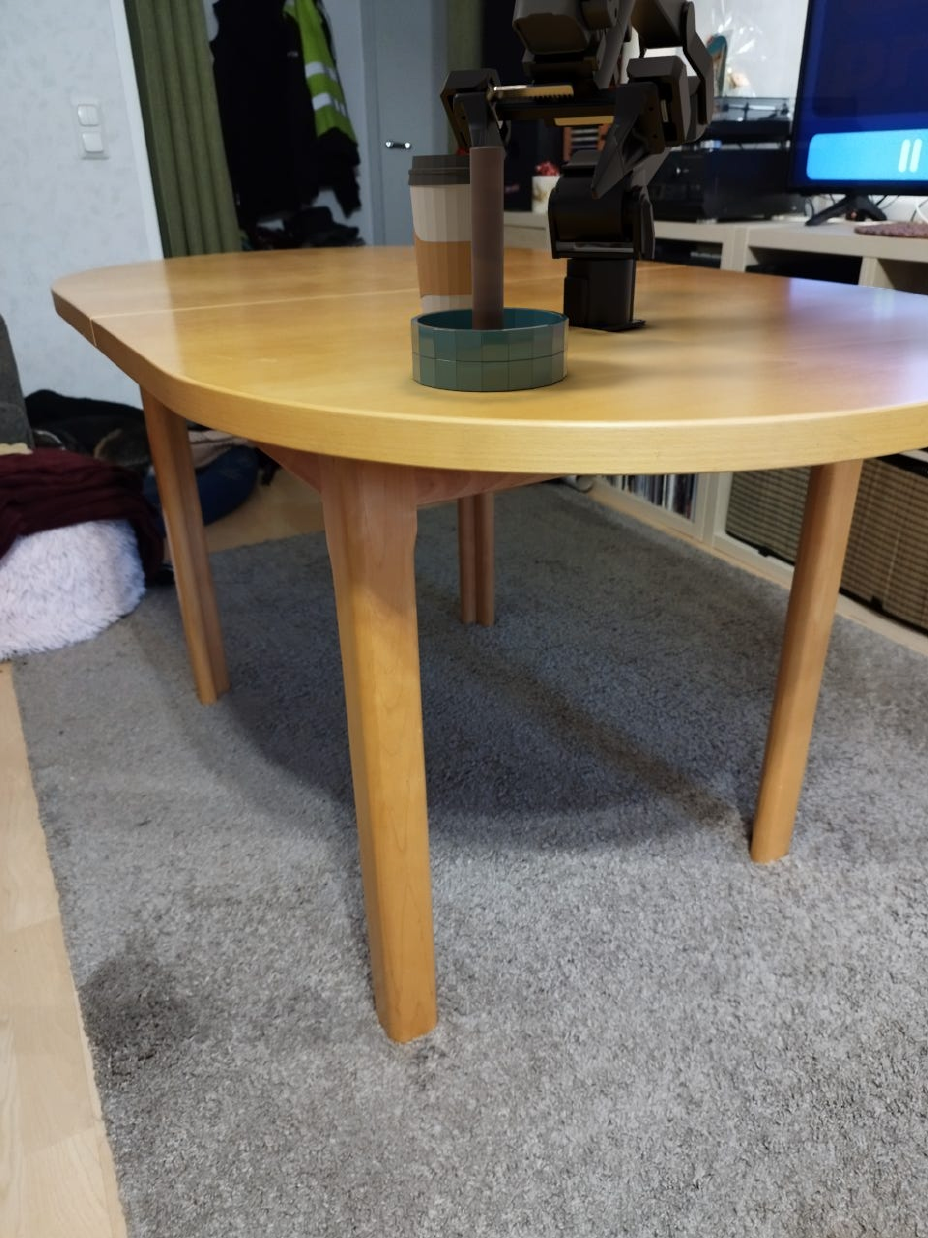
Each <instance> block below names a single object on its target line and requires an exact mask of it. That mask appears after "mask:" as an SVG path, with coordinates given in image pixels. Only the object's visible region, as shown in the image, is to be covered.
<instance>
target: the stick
mask: <svg viewBox="0 0 928 1238" xmlns="http://www.w3.org/2000/svg"><path fill="white" fill-rule="evenodd" d="M504 149H505V147H504V148H503V147H472V148H470V153H469V154H470V203H471V269H472V330H494V329H504V307H505V304H504V303H505V302H504V300H505V299H504V297H505V295H504V292H505V291H504V289H505V286H504V285H505V280H504V279H505V277H504V276H505V272H504V271H505V270H504V268H505V267H504V266H505V264H504V263H505V262H504V259H505V258H504V255H505V254H504V253H505V250H504V248H505V246H504V244H505V242H504V238H505V235H504V234H505V232H504V230H505V229H504V227H505V225H504V215H505V214H504V211H505V210H504V208H505V207H504V206H505V203H504V200H505V199H504V198H505V197H504V196H505V194H504V193H505V191H504V190H505V187H504V186H505V185H504V184H505V183H504V181H505V180H504V179H505V178H504V176H505V175H504V174H505V173H504V167H505V166H504V165H505V163H504V161H505V159H504Z"/></svg>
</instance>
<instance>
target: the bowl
mask: <svg viewBox="0 0 928 1238" xmlns="http://www.w3.org/2000/svg"><path fill="white" fill-rule="evenodd" d="M568 325H569V318H568V317H567V316H566V315H565V314H563V312H562V313H561V312H559V311H554V310H548V309H542V308H529V307H511V306H510V307H506V306H504V329H494V330H472V308H464V309H452V310H443V311H435V312H430V313H425V314H423V313H420V314H418V315H416V316H414V317H411V318H410V340H411V344H410V345H411V362H412V364H411V365H412V379H413V380H414V381H416V382H417V383H419V384H420V385H424V386H428V387H432V388H436V389H441V390H451V391H459V392H460V391H461V392H508V391H509V392H510V391H517V390H519V391H520V390H529V389H535V388H539V387H545V386H549V385H553V384H555V383H557V382H559V381H562V380H564V378H565V377H566V376H567V375H568V352H569V326H568Z"/></svg>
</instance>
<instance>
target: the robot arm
mask: <svg viewBox="0 0 928 1238" xmlns="http://www.w3.org/2000/svg"><path fill="white" fill-rule="evenodd" d="M513 11H514V12H513V17H512V23H511V24H512V28H513V30H514V31H515V32H517V34H518V36H519V37H520V39H521V42H522V44H523V45H524V47H525V52H524V54H523V57H522V60H521V64H522V68H523V71H524V74H525V76H526V77H527V76H528V77H529V76H531V79H532V82H531V84H524V85H523V84H522V85H509V86H508V85H507V86H502V85H501V84H502V83H501V81H500V78H499V75H498V71H497V69H494V68H489V67H487V68H473V69H459V70H450V71H449V72H448V74H447V76H446V78H445V80H444V82H443V85H442V87H441V90H440V93H439V98H440V101H441V104H442V106H443V109H444V112H445V114H446V117H447V119H448V121H449V124H450V127H451V129H452V132H453V134H454V137H455V141H456V142H457V145H458V148H459V149H460V150H461V151H463V152H465V154H470V148H472V147H503V148H504V160H505V159H506V157H507V153H506V150H505V147H506V146H508V144H509V141H510V139H511V135H512V121H529V120H531V121H532V120H543V123H544V125H545V126H544V127H545V129H552V128H553V129H554V128H577V127H578V128H579V127H602V126H603V127H604V125H606V124H607V125H609V124H611V125H610V128H609V130H608V133H607V134H606V135H607V136H606V138H605V140H604V143H603V147H602V149H579V150H577V151H576V152H575V153H573V154H572V156H571V158H570V159H569V162H568V163H567V164H562V165H561V172H562V174H561V175H560V176H559V177H558V178H557V181H556V182H555V184H554V187H552V188H551V190H550V192H549V195H548V201H547V220H548V221H547V222H548V230H549V231H548V232H549V240H550V241H549V242H550V252H551V259H552V260H561V259H566V273H565V274H566V275H565V276H564V278H563V302H562V303H563V304H562V314H565V315H566V316H567V317H568V318H569V325H568V327H575V328H581V329H587V330H594V331H601V332H613V331H618V330H619V331H620V330H625V329H629V328H630V329H631V328H637V327H642V326H646V319H640V318H634V309H635V295H636V279H637V264H638V262H640V261H645V260H654V259H655V249H656V230H655V221H654V212H653V204H652V202H650V195H649V190H648V187H647V186H648V185H649V183H650V181H651V180H652V179H653V177H654V176H655V174H656V173H657V171H658V170H659V168H660V167H661V165H662V164H663V163H664V161H665V159H666V158H667V157H668V155H669V154H670V152H671V151H672V149H673V148H679V147H680V146H681V145H684V144H687V143H691V142H695V141H696V140H698V139H699V138H700V137H702V135H703V134H704V132H705V130H706V127H707V126H708V125H711V123H712V120H713V115H714V109H715V72H714V71H715V69H714V68H715V67H714V58H713V56H712V55H711V53H710V52H709V50H708V48H707V47H706V45H705V43H704V42H703V41H702V39H701V37H700V36H699V34H698V32H697V30H696V29H697V28H696V8H695V3H694V1H693V0H689V1H688V0H515V5H514V10H513ZM633 29H634V30H635V32H636V33H637V41H638V53H639V55H638V57H632V58H631V57H629V58H628V62H627V65H626V69H625V71H626V77H627V78H628V80H627V82H625V83H618V80H619V77H620V75H619V69H618V64H617V62H618V59H619V55H620V52H621V48H622V46H623V44H624V43H625V44H626V43H631V42H632V39H633ZM674 48H677V49H678V48H681V49H682V54H683V56H684V57H685V59H686V61H687V62H688V64H689V65H690V67H691V69H692V70H693V71H694V73H695V75H688V67H687V64H686V63H685V61H684V60H683V59H682V58H681V56H678V55H677V54H674V55H673V54H672V55H661V56H660V55H659V56H647V57H646V54H647V51H648V50H649V51H650V50H660V49H661V50H662V49H663V50H664V49H674ZM617 83H618V84H617ZM616 86H617V87H616ZM576 243H581V244H584V243H585V244H587V243H588V244H591V243H593V244H632V247H630V248H629V247H575V245H576Z"/></svg>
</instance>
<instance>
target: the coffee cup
mask: <svg viewBox="0 0 928 1238" xmlns="http://www.w3.org/2000/svg"><path fill="white" fill-rule="evenodd" d="M411 159H412V160H411V168H410V169H408V170H407V175H408V180H407V186H409V192H410V201H411V203H410V204H411V212H412V222H413V228H412V231H413V232H412V233H413V240H414V250H415V260H416V271H417V279H418V280H417V281H418V289H419V297H420V301H421V310H422V314H425V313H430V312H435V311H443V310H452V309H464V308H472V269H471V203H470V153H461V154H458V153H455V154H431V155H430V154H429V155H428V154H426V155H425V154H424V155H412V157H411Z"/></svg>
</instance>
